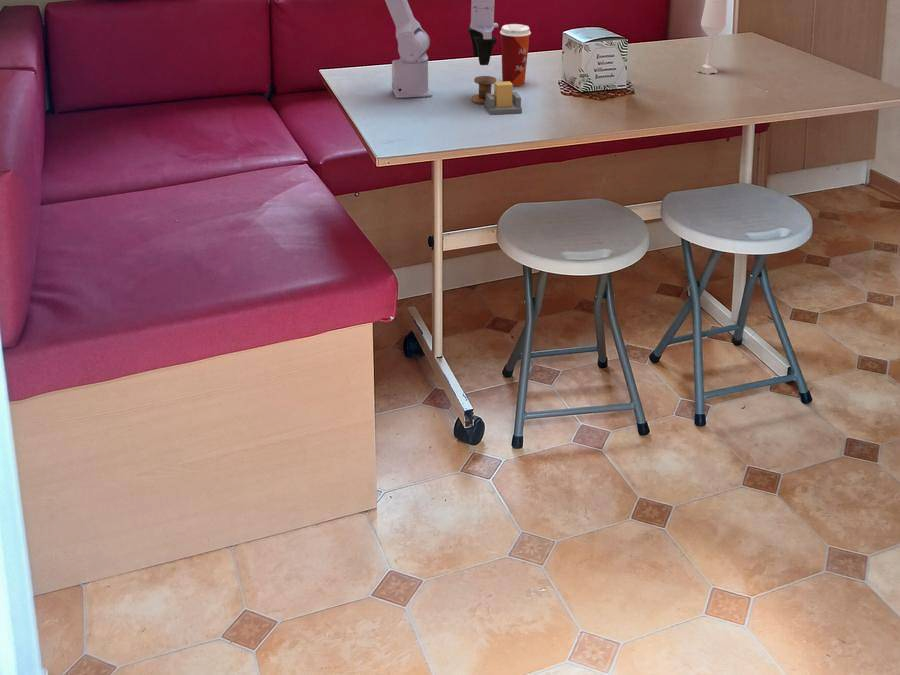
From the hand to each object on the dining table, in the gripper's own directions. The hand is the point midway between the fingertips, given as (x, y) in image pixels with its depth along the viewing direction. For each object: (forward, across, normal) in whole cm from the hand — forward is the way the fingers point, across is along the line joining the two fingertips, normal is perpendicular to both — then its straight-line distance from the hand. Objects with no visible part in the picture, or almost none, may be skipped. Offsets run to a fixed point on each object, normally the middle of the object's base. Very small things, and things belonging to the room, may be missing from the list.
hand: (481, 60), depth 265 cm
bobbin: (+10, -2, -1) cm, 10 cm away
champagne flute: (+10, +16, -69) cm, 71 cm away
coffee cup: (+10, +12, -12) cm, 19 cm away
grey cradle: (+10, -10, -4) cm, 15 cm away
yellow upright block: (+8, -10, -4) cm, 14 cm away
